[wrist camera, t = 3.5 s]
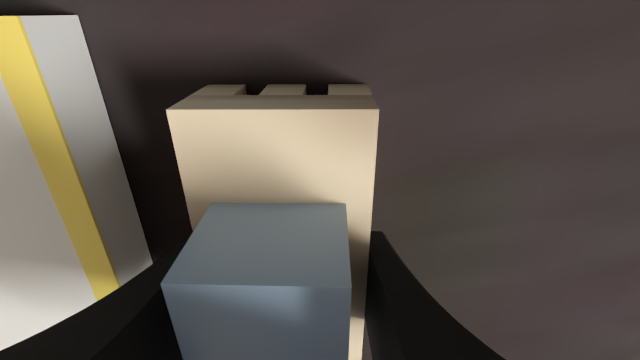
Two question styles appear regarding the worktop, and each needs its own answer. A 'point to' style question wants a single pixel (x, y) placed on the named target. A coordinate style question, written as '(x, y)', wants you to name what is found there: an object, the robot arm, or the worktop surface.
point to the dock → (58, 181)
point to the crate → (263, 284)
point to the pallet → (284, 159)
